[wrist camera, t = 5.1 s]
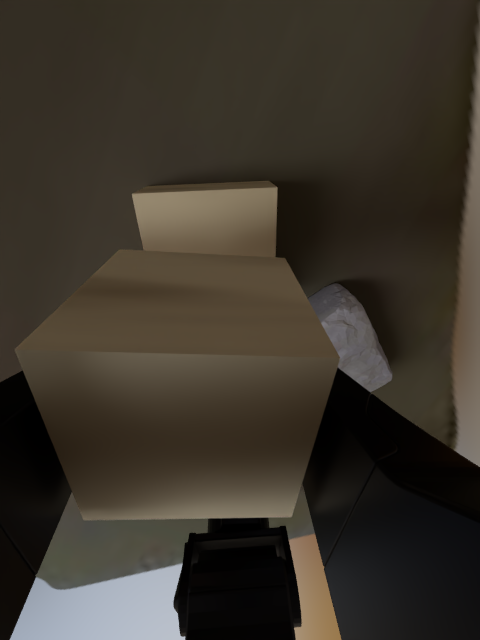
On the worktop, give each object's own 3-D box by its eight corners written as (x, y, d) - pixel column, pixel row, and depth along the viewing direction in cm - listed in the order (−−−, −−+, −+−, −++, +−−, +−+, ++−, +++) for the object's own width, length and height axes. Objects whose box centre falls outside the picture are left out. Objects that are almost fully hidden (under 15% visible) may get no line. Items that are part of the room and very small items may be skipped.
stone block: (380, 340, 25) (336, 265, 20) (411, 385, 22) (369, 310, 16) (268, 398, 29) (203, 350, 23) (280, 445, 26) (205, 402, 20)
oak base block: (266, 288, 21) (273, 313, 18) (167, 294, 20) (158, 319, 17) (268, 180, 17) (277, 187, 14) (148, 185, 17) (131, 193, 14)
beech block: (266, 379, 11) (291, 517, 7) (138, 377, 11) (83, 520, 7) (284, 257, 9) (340, 358, 5) (119, 249, 9) (14, 349, 4)
